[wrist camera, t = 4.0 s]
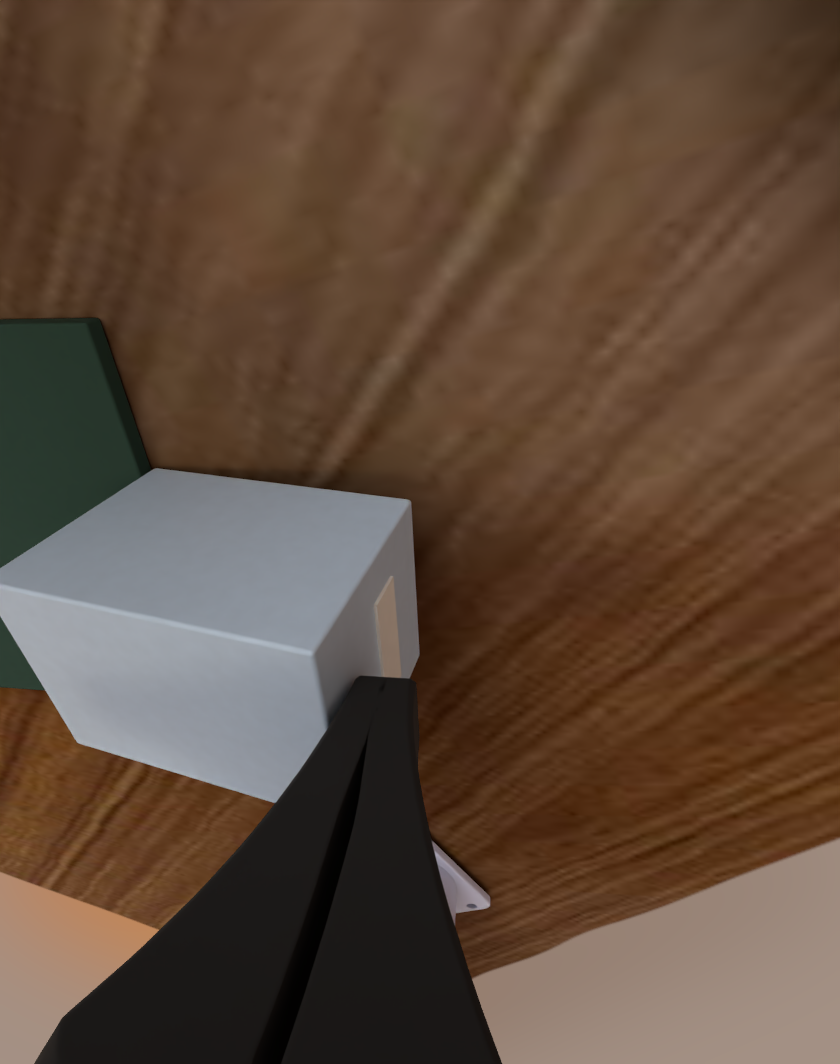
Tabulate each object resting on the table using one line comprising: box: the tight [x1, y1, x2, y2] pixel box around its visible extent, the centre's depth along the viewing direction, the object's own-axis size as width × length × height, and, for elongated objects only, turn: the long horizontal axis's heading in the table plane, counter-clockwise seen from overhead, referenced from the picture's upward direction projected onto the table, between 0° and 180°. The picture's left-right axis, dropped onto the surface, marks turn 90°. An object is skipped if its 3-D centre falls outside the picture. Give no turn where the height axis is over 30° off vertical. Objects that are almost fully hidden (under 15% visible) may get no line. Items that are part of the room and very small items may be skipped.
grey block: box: [0, 468, 420, 803], centre depth 14 cm, size 8×6×6 cm
